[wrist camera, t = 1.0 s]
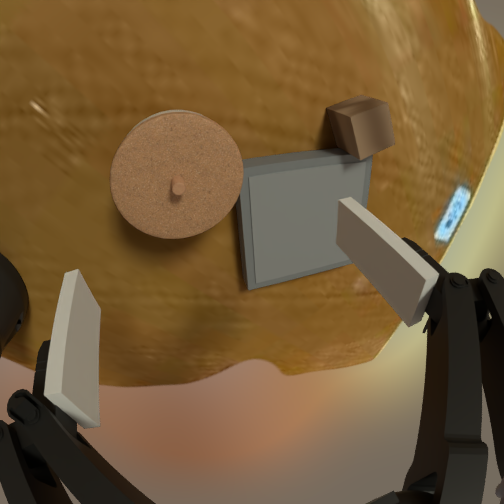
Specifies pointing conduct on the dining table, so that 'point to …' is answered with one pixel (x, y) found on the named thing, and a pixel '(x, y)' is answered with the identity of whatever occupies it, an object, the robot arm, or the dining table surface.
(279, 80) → the dining table surface
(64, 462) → the robot arm
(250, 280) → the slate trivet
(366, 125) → the walnut block
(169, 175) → the lidded jar
